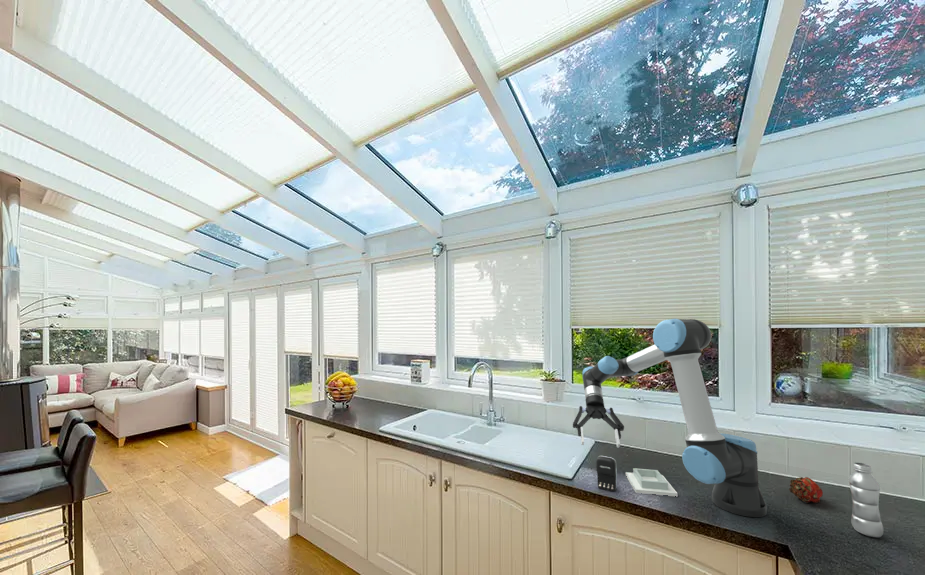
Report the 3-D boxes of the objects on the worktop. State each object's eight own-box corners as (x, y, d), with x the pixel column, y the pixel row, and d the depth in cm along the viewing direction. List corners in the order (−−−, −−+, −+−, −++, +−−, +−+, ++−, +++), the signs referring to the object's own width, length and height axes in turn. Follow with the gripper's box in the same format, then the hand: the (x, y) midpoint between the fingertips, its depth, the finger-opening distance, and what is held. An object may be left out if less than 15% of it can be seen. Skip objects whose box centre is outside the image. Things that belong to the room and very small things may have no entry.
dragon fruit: (801, 510, 128) (806, 504, 135) (828, 502, 123) (831, 496, 131) (781, 484, 132) (787, 479, 140) (806, 475, 128) (811, 471, 136)
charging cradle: (662, 478, 149) (662, 468, 149) (677, 496, 133) (677, 486, 134) (625, 475, 152) (625, 465, 152) (635, 492, 136) (635, 482, 137)
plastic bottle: (865, 527, 114) (859, 460, 116) (891, 540, 107) (885, 469, 109) (845, 528, 114) (839, 460, 116) (870, 541, 107) (864, 469, 109)
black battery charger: (595, 488, 139) (595, 457, 140) (598, 485, 143) (597, 454, 144) (615, 493, 136) (614, 461, 137) (617, 489, 139) (616, 457, 140)
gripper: (622, 405, 165) (632, 451, 149) (564, 402, 170) (567, 446, 154) (625, 395, 160) (635, 442, 145) (565, 392, 165) (568, 437, 149)
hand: (600, 444), depth 149 cm, fingers open, 13 cm apart
